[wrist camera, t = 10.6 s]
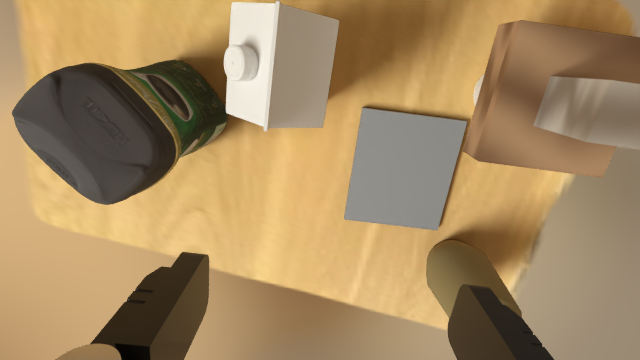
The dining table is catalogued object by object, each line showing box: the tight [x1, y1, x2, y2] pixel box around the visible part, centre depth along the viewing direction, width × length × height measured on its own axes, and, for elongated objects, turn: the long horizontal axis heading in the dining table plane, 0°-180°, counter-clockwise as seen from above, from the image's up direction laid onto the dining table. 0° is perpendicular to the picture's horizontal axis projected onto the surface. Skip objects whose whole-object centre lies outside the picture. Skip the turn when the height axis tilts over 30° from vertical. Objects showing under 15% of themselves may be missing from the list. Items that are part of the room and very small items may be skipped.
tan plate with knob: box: [463, 20, 640, 177], centre depth 26 cm, size 11×11×10 cm
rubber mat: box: [344, 107, 467, 230], centre depth 40 cm, size 14×12×1 cm
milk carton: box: [224, 1, 339, 131], centre depth 28 cm, size 7×7×19 cm
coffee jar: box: [12, 60, 227, 205], centre depth 30 cm, size 10×8×19 cm
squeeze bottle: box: [426, 240, 522, 318], centre depth 36 cm, size 8×8×18 cm
